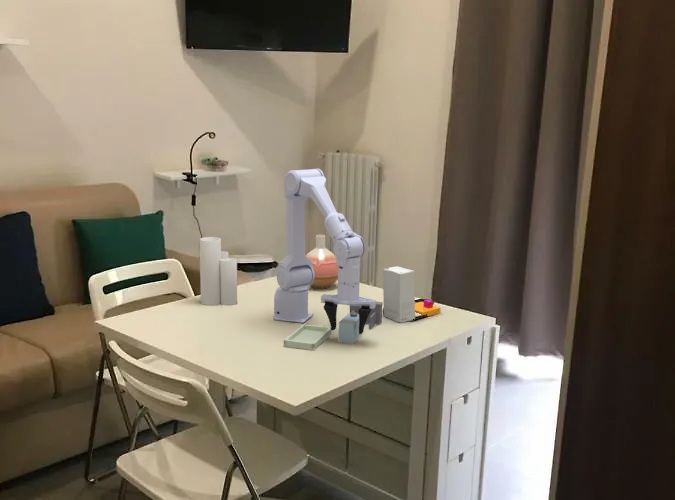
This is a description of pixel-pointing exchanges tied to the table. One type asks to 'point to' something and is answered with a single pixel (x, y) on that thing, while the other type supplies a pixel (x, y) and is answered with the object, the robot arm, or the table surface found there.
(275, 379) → the table surface
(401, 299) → the skincare box
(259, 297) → the table surface
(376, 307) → the bay
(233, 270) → the vase
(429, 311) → the orange flat block
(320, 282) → the vase
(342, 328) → the tall blue-grey prism
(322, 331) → the tray
